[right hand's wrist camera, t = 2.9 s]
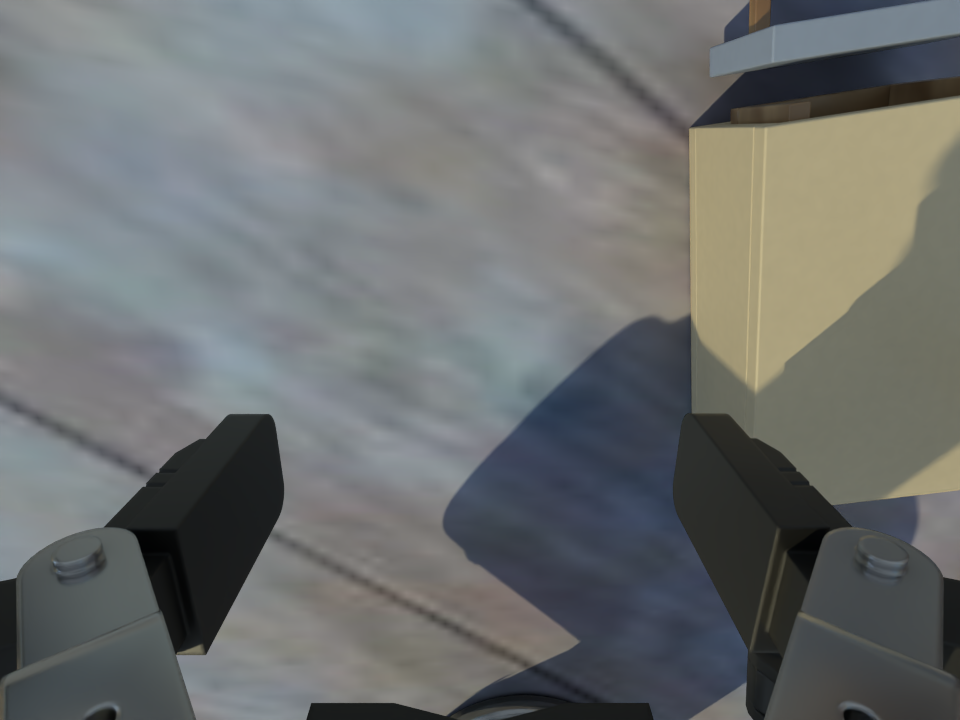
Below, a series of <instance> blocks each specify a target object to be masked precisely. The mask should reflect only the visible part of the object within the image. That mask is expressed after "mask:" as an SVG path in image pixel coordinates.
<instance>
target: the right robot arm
mask: <svg viewBox="0 0 960 720" xmlns="http://www.w3.org/2000/svg"><path fill="white" fill-rule="evenodd" d="M673 498H674V505H675V509H676V512H677V515H678V517H679V519H680V521H681V522H682V524H683V526H684V528H685V530H686V532H687V534H688V536H689V538H690V540H691V542H692V543H693V545H694V547H695V549H696V551H697V553H698V555H699V557H700V559H701V561H702V563H703V564H704V566H705V568H706V570H707V572H708V574H709V576H710V578H711V580H712V582H713V584H714V586H715V587H716V589H717V591H718V593H719V595H720V597H721V599H722V601H723V603H724V605H725V607H726V608H727V610H728V612H729V614H730V616H731V618H732V620H733V622H734V624H735V626H736V628H737V629H738V631H739V633H740V635H741V637H742V639H743V641H744V643H745V645H746V647H747V649H748V650H749V652H750V653H780V655H781V656H782V658H783V661H782V664H781V667H780V670H779V673H778V677H777V680H776V683H775V686H774V689H773V692H772V696H771V699H770V702H769V705H768V708H767V711H766V715H765V718H764V720H960V581H959V580H954V579H949V578H944V577H943V575H942V573H941V571H940V569H939V568H938V567H937V565H936V564H935V563H934V562H933V561H932V560H931V559H930V558H929V557H927V556H926V555H925V554H924V553H922V552H921V551H920V550H918V549H916V548H915V547H913V546H912V545H910V544H908V543H906V542H904V541H902V540H900V539H897V538H895V537H893V536H890V535H887V534H885V533H881V532H878V531H874V530H869V529H864V528H855V527H852V526H851V525H850V524H849V523H848V522H847V521H846V520H845V519H844V518H843V517H842V516H841V514H840V513H839V512H838V511H837V510H836V509H835V508H834V507H833V506H832V505H831V504H830V503H829V502H828V501H827V500H826V499H825V498H824V497H823V496H822V495H821V494H820V492H819V491H818V490H817V489H816V488H815V487H814V486H810V484H809V481H808V480H807V479H806V478H805V477H804V476H803V475H802V474H801V473H800V472H797V471H796V467H795V466H794V465H793V464H792V463H791V462H790V461H789V460H788V459H787V458H786V457H785V456H784V455H783V454H782V453H781V452H780V451H778V450H776V449H775V448H773V447H771V446H769V445H768V444H766V443H764V442H762V441H761V440H759V439H757V438H750V437H749V436H748V435H747V434H746V433H745V432H744V430H743V429H742V428H741V427H740V426H739V425H738V424H737V423H736V422H735V420H734V419H733V418H732V417H731V416H730V415H729V414H727V413H688V414H686V415H685V417H684V419H683V421H682V425H681V432H680V439H679V446H678V453H677V460H676V467H675V474H674V481H673ZM283 500H284V481H283V474H282V468H281V461H280V454H279V447H278V440H277V433H276V427H275V422H274V420H273V418H272V416H271V415H269V414H230V415H228V416H227V417H225V419H224V420H223V421H222V422H221V423H220V424H219V425H218V426H217V427H216V429H215V430H214V431H213V432H212V433H211V434H210V435H209V436H208V437H207V438H206V439H199V440H197V441H196V442H194V443H192V444H190V445H189V446H187V447H185V448H183V449H182V450H180V451H178V452H177V453H175V454H174V455H173V456H172V457H171V458H170V459H169V460H168V461H167V462H166V463H165V464H164V465H163V466H162V468H161V469H160V472H159V473H156V474H155V475H154V476H153V477H152V478H151V479H150V480H149V481H148V482H147V483H146V487H142V488H141V489H140V490H139V491H138V492H137V493H136V494H135V496H134V497H133V498H132V499H131V500H130V501H129V502H128V503H127V504H126V505H125V506H124V507H123V508H122V509H121V510H120V511H119V512H118V513H117V514H116V515H115V516H114V517H113V518H112V519H111V520H110V521H109V522H108V524H107V525H106V526H105V527H104V528H96V529H91V530H86V531H82V532H79V533H75V534H73V535H70V536H67V537H65V538H63V539H60V540H58V541H56V542H54V543H52V544H50V545H48V546H47V547H45V548H44V549H42V550H40V551H39V552H38V553H36V554H35V555H34V556H33V557H31V558H30V559H29V560H28V561H27V562H26V563H25V564H24V565H23V567H22V568H21V569H20V571H19V573H18V575H17V578H14V579H10V580H5V581H0V720H196V718H195V715H194V711H193V708H192V705H191V702H190V699H189V696H188V692H187V689H186V686H185V683H184V680H183V677H182V673H181V670H180V667H179V664H178V661H177V658H176V655H206V654H207V652H208V650H209V648H210V646H211V644H212V642H213V640H214V639H215V637H216V635H217V633H218V631H219V629H220V627H221V625H222V623H223V622H224V620H225V618H226V616H227V614H228V612H229V610H230V608H231V607H232V605H233V603H234V601H235V599H236V597H237V595H238V593H239V591H240V590H241V588H242V586H243V584H244V582H245V580H246V578H247V576H248V574H249V573H250V571H251V569H252V567H253V565H254V563H255V561H256V559H257V557H258V556H259V554H260V552H261V550H262V548H263V546H264V544H265V542H266V540H267V539H268V537H269V535H270V533H271V531H272V529H273V527H274V525H275V523H276V522H277V520H278V518H279V516H280V513H281V510H282V506H283ZM307 720H458V719H454V718H450V717H446V716H442V715H439V714H435V713H431V712H427V711H423V710H419V709H415V708H411V707H407V706H403V705H399V704H396V703H311V706H310V710H309V713H308V716H307ZM502 720H653V716H652V713H651V710H650V706H649V703H564V704H561V705H557V706H553V707H549V708H545V709H541V710H537V711H533V712H529V713H525V714H521V715H518V716H514V717H510V718H506V719H502Z"/></svg>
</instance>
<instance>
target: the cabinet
mask: <svg viewBox="0 0 960 720" xmlns="http://www.w3.org/2000/svg"><path fill="white" fill-rule="evenodd" d="M689 157H690V273H691V388H692V413H727V414H729V415H730V416H731V417H732V418H733V419H734V420H735V422H736V423H737V424H738V425H739V426H740V427H741V428H742V429H743V430H744V432H745V433H746V434H747V435H748V436H749V437H750V438H757V439H759V440H761V441H762V442H764V443H766V444H768V445H769V446H771V447H773V448H775V449H776V450H778V451H780V452H781V453H782V454H783V455H784V456H785V457H786V458H787V459H788V460H789V461H790V462H791V463H792V464H793V465H794V466H795V467H796V471H797V472H800V473H801V474H802V475H803V476H804V477H805V478H806V479H807V480H808V481H809V484H810V486H814V487H815V488H816V489H817V490H818V491H819V492H820V494H821V495H822V496H823V497H824V498H825V499H826V500H827V501H828V502H829V503H830V504H831V505H839V504H847V503H856V502H864V501H872V500H881V499H889V498H897V497H906V496H914V495H922V494H931V493H939V492H947V491H956V490H960V95H959V96H953V97H946V98H940V99H933V100H927V101H920V102H913V103H907V104H900V105H894V106H887V107H881V108H874V109H868V110H861V111H854V112H848V113H841V114H835V115H828V116H822V117H815V118H809V119H802V120H795V121H789V122H782V123H762V124H731V121H730V122H723V123H717V124H710V125H704V126H697V127H691V128H690V129H689Z"/></svg>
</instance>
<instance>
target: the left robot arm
mask: <svg viewBox="0 0 960 720" xmlns="http://www.w3.org/2000/svg"><path fill="white" fill-rule="evenodd" d="M782 661H783V658H782V656H781V655H780V653H750V652H749V650H748V664H747V687H746V707H747V710H748V713H749V715H750V716H751V717H752V719H753V720H764V718H765V715H766V711H767V708H768V705H769V702H770V699H771V696H772V692H773V689H774V686H775V683H776V680H777V677H778V673H779V670H780V667H781V664H782ZM564 703H569V702H567V701H563V700H559V699H555V698H550V697H544V696H533V695H515V696H505V697H499V698H494V699H489V700H485V701H482V702H479V703H476V704H473V705H471V706H468V707H466V708H464V709H462V710H460V711H458V712H457V713H455V714H453V715H452V716H450V718H454V719H458V720H502V719H506V718H510V717H514V716H518V715H521V714H525V713H529V712H533V711H537V710H541V709H545V708H549V707H553V706H557V705H561V704H564Z"/></svg>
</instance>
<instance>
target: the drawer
mask: <svg viewBox="0 0 960 720" xmlns="http://www.w3.org/2000/svg"><path fill="white" fill-rule="evenodd" d="M770 13H771V0H750V9H749V34H748V35H745V36H742V37H739V38H737V39H734V40H731V41H728V42H725V43H723V44H720V45H717V46H714V47H712V48H710V77H717V76H724V75H730V74H737V73H743V72H749V71H756V70H762V69H768V68H775V67H781V66H787V65H794V64H800V63H807V62H813V61H819V60H826V59H832V58H838V57H845V56H851V55H857V54H864V53H870V52H876V51H883V50H889V49H896V48H902V47H908V46H914V45H919V44H925V43H930V42H935V41H940V40H945V39H950V38H955V37H960V0H926V1H920V2H914V3H908V4H901V5H895V6H889V7H883V8H876V9H870V10H864V11H858V12H852V13H845V14H839V15H833V16H827V17H820V18H814V19H808V20H802V21H796V22H789V23H783V24H777V25H773V26H770ZM959 95H960V76H957V77H948V78H939V79H931V80H922V81H913V82H904V83H895V84H889V85H882V86H876V87H870V88H863V89H857V90H850V91H844V92H837V93H831V94H824V95H818V96H811V97H805V98H798V99H792V100H785V101H779V102H772V103H766V104H759V105H753V106H746V107H740V108H733V109H731V124H762V123H782V122H789V121H795V120H802V119H809V118H815V117H822V116H828V115H835V114H841V113H848V112H854V111H861V110H868V109H874V108H881V107H887V106H894V105H900V104H907V103H913V102H920V101H927V100H933V99H940V98H946V97H953V96H959Z"/></svg>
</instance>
